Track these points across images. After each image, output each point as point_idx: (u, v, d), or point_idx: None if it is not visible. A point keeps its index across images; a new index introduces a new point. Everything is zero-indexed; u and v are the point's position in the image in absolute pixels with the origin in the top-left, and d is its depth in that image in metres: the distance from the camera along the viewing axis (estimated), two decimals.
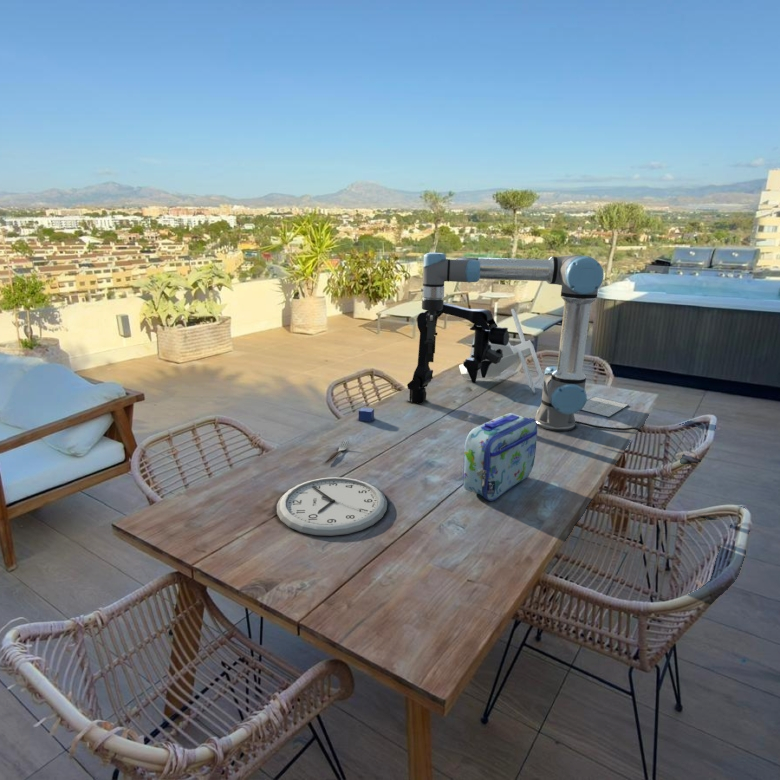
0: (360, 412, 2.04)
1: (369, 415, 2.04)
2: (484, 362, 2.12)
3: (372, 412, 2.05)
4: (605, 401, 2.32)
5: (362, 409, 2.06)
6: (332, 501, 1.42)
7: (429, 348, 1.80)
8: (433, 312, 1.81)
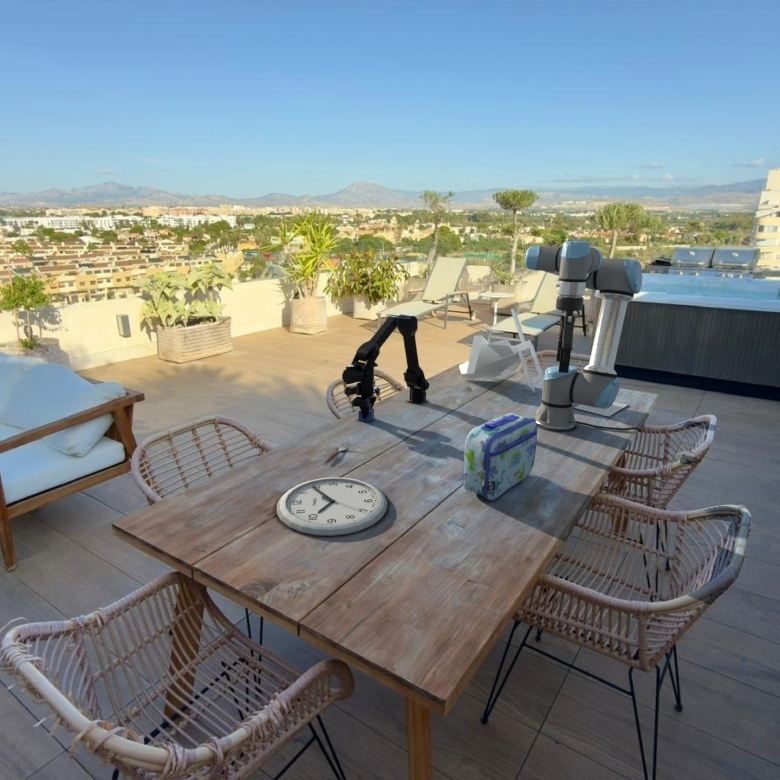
0: (360, 412, 2.04)
1: (369, 415, 2.04)
2: None
3: (372, 412, 2.05)
4: None
5: None
6: (332, 501, 1.42)
7: (565, 356, 1.49)
8: (571, 313, 1.50)
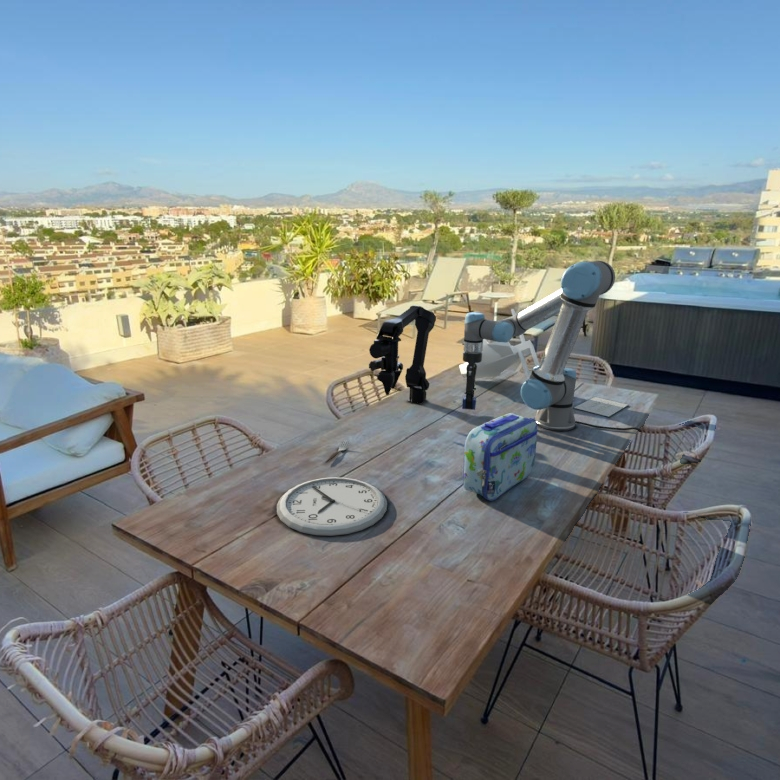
0: (464, 400, 2.13)
1: (473, 403, 2.12)
2: None
3: (475, 400, 2.14)
4: (605, 401, 2.32)
5: (465, 398, 2.14)
6: (332, 501, 1.42)
7: (468, 398, 2.10)
8: (472, 364, 2.06)
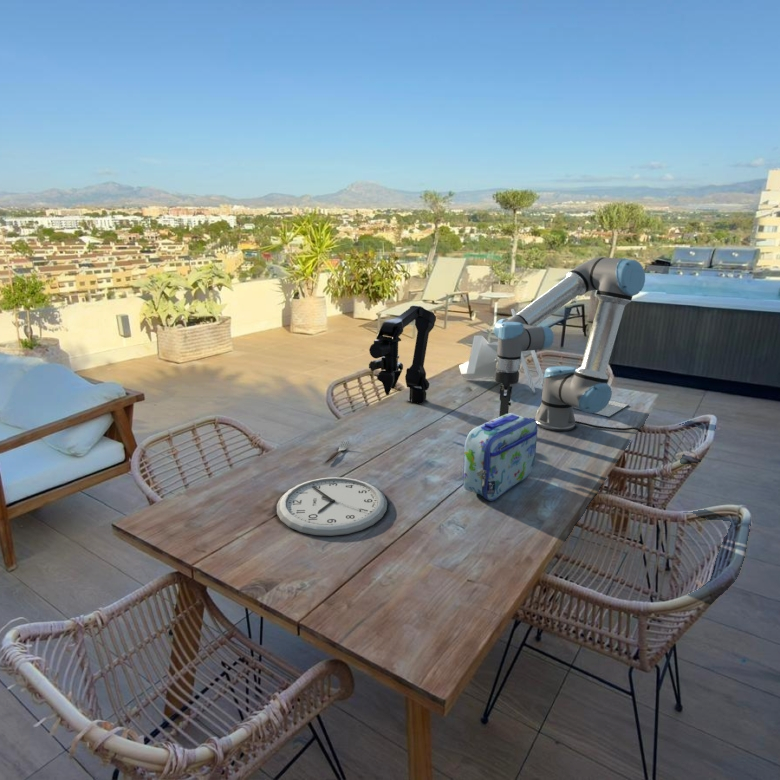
0: None
1: None
2: None
3: None
4: None
5: None
6: (332, 501, 1.42)
7: None
8: (507, 386, 1.68)
